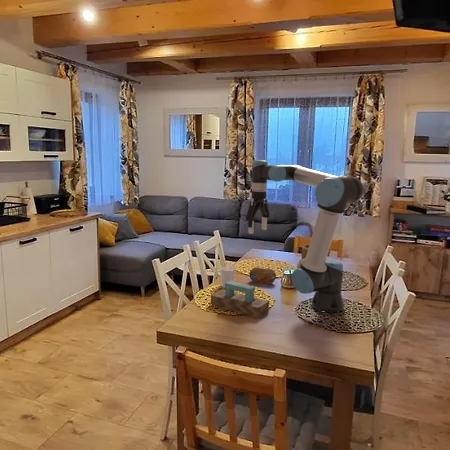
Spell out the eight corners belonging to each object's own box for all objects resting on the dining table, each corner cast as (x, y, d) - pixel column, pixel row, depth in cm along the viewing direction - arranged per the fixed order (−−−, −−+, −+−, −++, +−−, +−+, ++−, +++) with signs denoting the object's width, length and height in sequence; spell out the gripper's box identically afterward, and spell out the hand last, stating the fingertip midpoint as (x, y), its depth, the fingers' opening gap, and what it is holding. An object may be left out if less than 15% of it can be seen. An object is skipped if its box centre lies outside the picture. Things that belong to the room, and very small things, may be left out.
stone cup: (314, 272, 250) (316, 248, 248) (295, 270, 254) (296, 246, 251) (317, 265, 265) (318, 243, 262) (298, 263, 268) (300, 241, 265)
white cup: (232, 289, 216) (233, 271, 215) (218, 288, 218) (218, 270, 216) (235, 284, 224) (235, 267, 222) (221, 283, 226) (221, 266, 224)
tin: (249, 281, 230) (249, 267, 229) (250, 279, 233) (251, 265, 232) (274, 285, 225) (275, 270, 223) (276, 283, 228) (276, 269, 226)
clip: (254, 308, 188) (254, 286, 187) (249, 311, 185) (250, 289, 183) (229, 301, 196) (229, 280, 194) (224, 304, 193) (225, 282, 191)
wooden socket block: (268, 311, 188) (269, 301, 187) (257, 318, 180) (258, 307, 179) (222, 298, 202) (222, 289, 201) (210, 304, 194) (210, 295, 193)
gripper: (264, 188, 219) (263, 227, 223) (239, 192, 199) (238, 234, 203) (277, 189, 215) (275, 228, 219) (252, 193, 195) (251, 236, 199)
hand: (257, 231), depth 211 cm, fingers open, 13 cm apart
